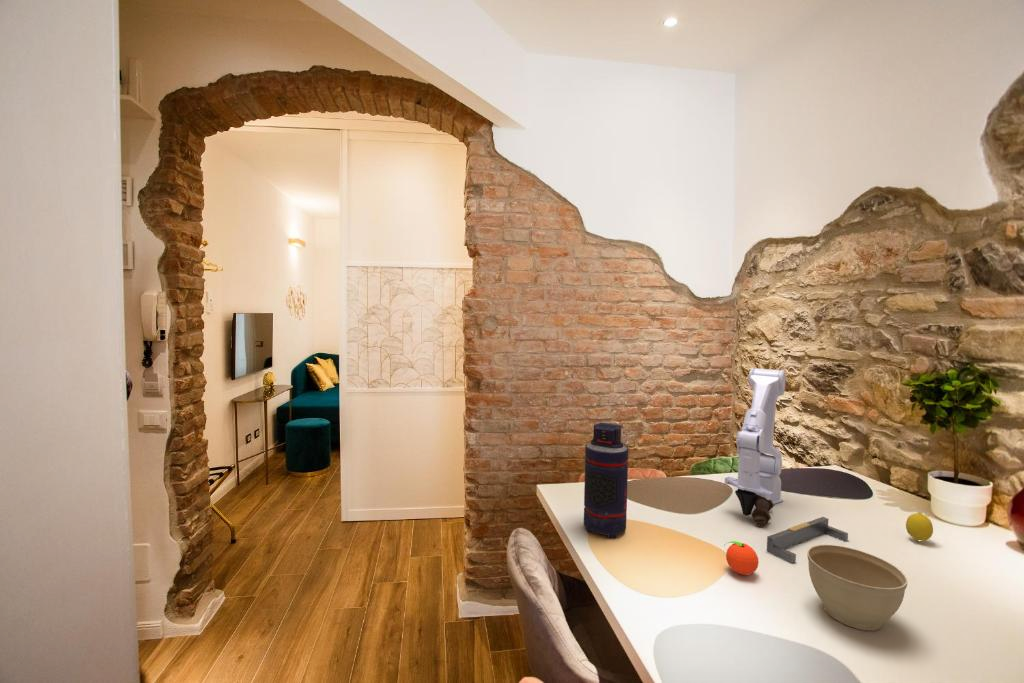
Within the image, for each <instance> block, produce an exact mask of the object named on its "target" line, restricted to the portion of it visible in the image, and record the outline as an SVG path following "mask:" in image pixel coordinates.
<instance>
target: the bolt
mask: <svg viewBox="0 0 1024 683" xmlns="http://www.w3.org/2000/svg"><path fill="white" fill-rule="evenodd" d="M774 506H775V504H773V502H772V500H767V499H766V498H764V497H762V496H760V497H759V498H758V500H757V501H756V503H755V505H754V507H755V508H754V509H753V510H752V513H751V516H752V518H753V520H754V524H755V525H756V526H758V527H765V526H766V525H768V522H770V520H771V518H772V517H771V515H770V512H771V510H772V509H773V508H774Z"/></svg>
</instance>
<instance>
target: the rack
mask: <svg viewBox="0 0 1024 683" xmlns="http://www.w3.org/2000/svg"><path fill="white" fill-rule="evenodd" d="M823 535H828V536H830V537H832V538H834V539H837V538H838V539H837V540H840V541H842V540H843V541H842V542H847V541H848V539H849V533H848V532H846V531H843V530H841V529H838V528H835V527H833V526H830V525H829V518H828V517H825V516H821V517H818V518H815V519H813V520H810V521H807V522H803V523H800V524H797V525H794V526H791V527H788V528H787V529H785V530H782V531H779V532H777V533H773V534H771V535H770V534H769V535H768V536H766V537H767V538H766V552H767V553H769V554H771V555H773V556H775V557H777V558H779V559H781V560H783V561H786V562H787V563H790V564H795V563H796V561H797V560H796V559H797V554H796V553H794V552H792V551H789V550H788V549H790V548H793V547H794V546H797V545H799V544H802V543H804V542H807V541H809V540H812V539H815V538H817V537H820V536H823ZM846 540H847V541H846Z"/></svg>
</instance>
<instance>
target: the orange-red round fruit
mask: <svg viewBox="0 0 1024 683" xmlns="http://www.w3.org/2000/svg"><path fill="white" fill-rule="evenodd" d="M727 543H728V544H729V543H730V544H731V543H732V544H731V545H730V546H728V548H727V550H726V553H725V558H726V559H725V560H726V561H727V564H728V566H729V568H730V569H731V570H732V571H733V572H735V573H736V574H739V575H742V576H749V575H752V574H753V573H755V572H756V570H757V569H758V568H759V567H758V566H759V562H760V561H759V557H758V553H756V551H755V549H753V548H752V546H750V545H748V544H747V543H744V542H740V541H734V540H732V541H731V540H730V541H728V542H727ZM725 546H726V544H724V545H723V547H725Z"/></svg>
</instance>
